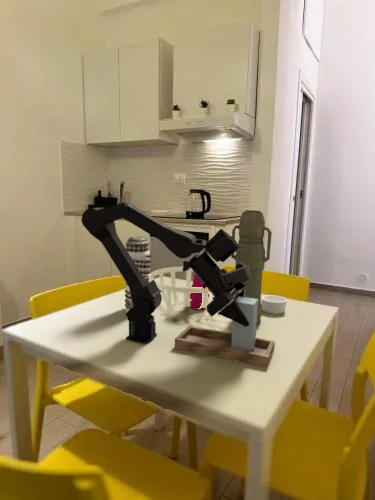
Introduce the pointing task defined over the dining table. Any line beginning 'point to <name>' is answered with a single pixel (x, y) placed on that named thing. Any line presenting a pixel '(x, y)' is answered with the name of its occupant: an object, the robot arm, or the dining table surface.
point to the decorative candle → (137, 261)
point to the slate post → (241, 334)
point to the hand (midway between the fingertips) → (250, 321)
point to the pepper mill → (196, 297)
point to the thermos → (252, 252)
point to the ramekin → (273, 304)
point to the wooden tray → (223, 346)
